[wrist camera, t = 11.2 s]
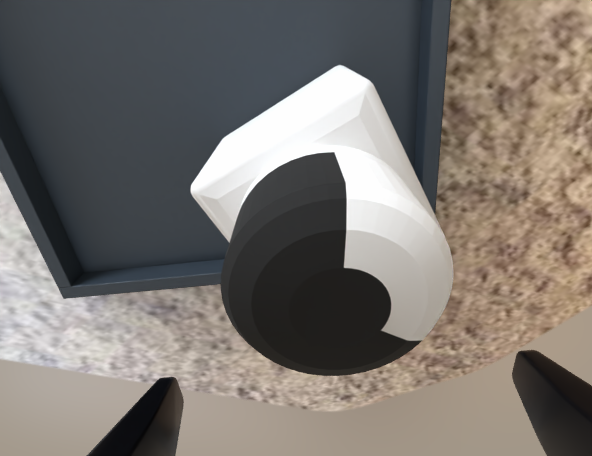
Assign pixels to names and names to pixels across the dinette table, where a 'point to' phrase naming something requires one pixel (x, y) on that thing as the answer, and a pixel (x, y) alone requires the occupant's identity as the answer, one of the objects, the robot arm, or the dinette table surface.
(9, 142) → the tray
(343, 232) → the medicine bottle
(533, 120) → the dinette table surface
